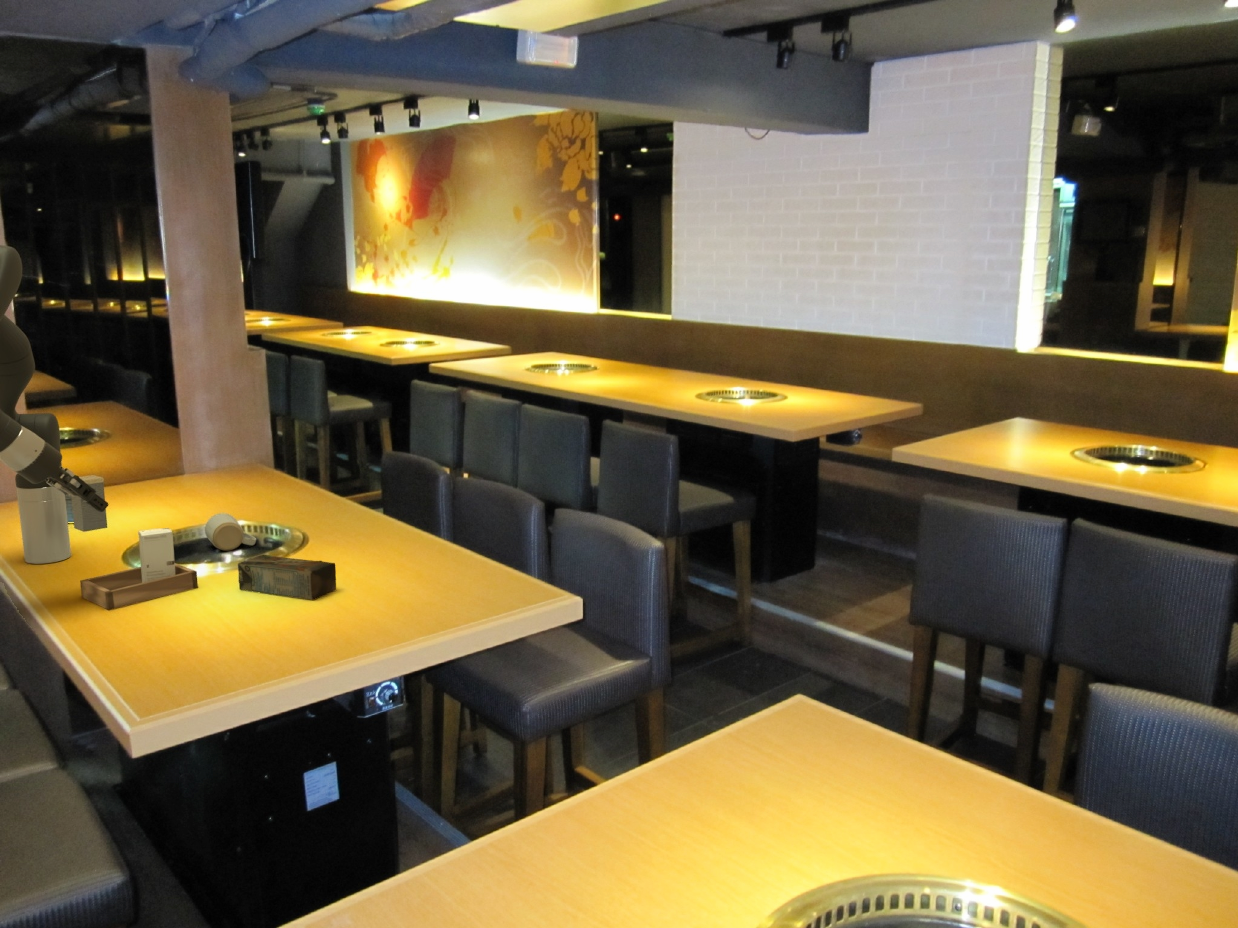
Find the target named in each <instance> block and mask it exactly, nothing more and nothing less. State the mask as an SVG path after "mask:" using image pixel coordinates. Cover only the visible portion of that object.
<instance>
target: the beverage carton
mask: <svg viewBox="0 0 1238 928" xmlns="http://www.w3.org/2000/svg"><path fill="white" fill-rule="evenodd" d="M237 570H238V586H239V590H240V591H246V590H248V591H247V592H252V591H253V593H258V592H260V593H259V594H267V595H272V594H273V596H280V597H281V596H282V597H290V598H297V599H303V600H304V599H305V600H310V601H314V600H316V599H320V598H321V597H323V596H326V595H328V594H331V593H333V592H336V591H337V577H336V574H337V573H336V572H337V570H336V563H335V562H330V561H329V562H328V561H322V560H311V559H310V560H309V559H300V558H293V557H292V558H291V557H286V556H275V555H268V554H261V555H258V556H255V557H247V558H245V560H243V561H240V562H239V563H238V564H237ZM335 590H336V591H335Z"/></svg>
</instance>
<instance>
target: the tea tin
mask: <svg viewBox="0 0 1238 928" xmlns="http://www.w3.org/2000/svg"><path fill="white" fill-rule="evenodd" d="M79 478H80V479H82V480H83V481H84V482H85V483H87V484H88V485H89V486H90V487H91V488H93V489H95V491H96V493H95V494H97V495H98V496H99V497H101V498H102V499H103V500H105V501H106V496H105V494H106V493H105V484H104V482H105V478H104V477H102V476H98V475H95V474H93V475H85V476H84V475H83V476H79ZM71 492H73V490H71ZM86 493H87V490H85V491H84V492H83V495H85V494H86ZM71 499H72V510H73V520H74V524H73V528H74V529H76V530H78V531H81V532H82V533H86V532H92V531H97V530H101V529H102V530H103V529H107V528H108V521H107V519H108V518H107V508H106V509H105V510H104V511H103V512H100V511H98V510H97V509H95V508H94V507H92V506H91V505H90V504H88V503H87V502H84V501H82V499H80V498H79V497H77V496H71Z"/></svg>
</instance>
